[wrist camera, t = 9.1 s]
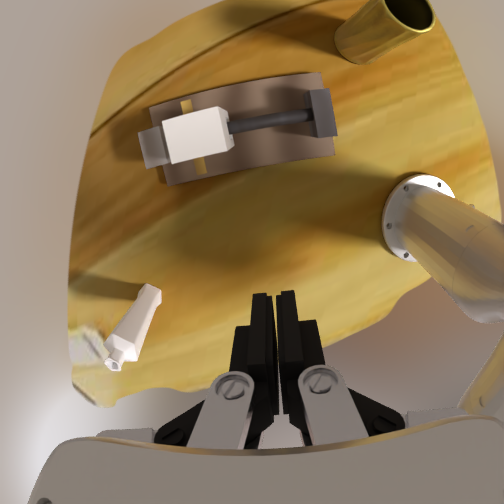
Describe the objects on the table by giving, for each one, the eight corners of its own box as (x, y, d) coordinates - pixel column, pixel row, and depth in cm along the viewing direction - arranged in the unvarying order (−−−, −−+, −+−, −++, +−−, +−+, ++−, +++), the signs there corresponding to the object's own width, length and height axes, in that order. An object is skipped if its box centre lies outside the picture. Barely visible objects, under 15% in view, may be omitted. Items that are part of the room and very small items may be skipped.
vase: (336, 16, 25) (376, -33, 12) (382, 31, 25) (440, -4, 12) (330, 56, 27) (373, 19, 15) (377, 71, 28) (439, 49, 15)
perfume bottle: (171, 301, 42) (139, 374, 28) (149, 310, 43) (114, 381, 29) (153, 276, 40) (112, 345, 27) (132, 287, 41) (89, 354, 27)
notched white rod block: (227, 111, 29) (217, 106, 22) (234, 145, 30) (227, 151, 23) (183, 121, 29) (161, 121, 22) (190, 155, 31) (171, 164, 24)
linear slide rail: (317, 74, 29) (330, 63, 23) (332, 153, 33) (347, 160, 27) (153, 108, 31) (131, 105, 25) (171, 184, 35) (153, 196, 29)
